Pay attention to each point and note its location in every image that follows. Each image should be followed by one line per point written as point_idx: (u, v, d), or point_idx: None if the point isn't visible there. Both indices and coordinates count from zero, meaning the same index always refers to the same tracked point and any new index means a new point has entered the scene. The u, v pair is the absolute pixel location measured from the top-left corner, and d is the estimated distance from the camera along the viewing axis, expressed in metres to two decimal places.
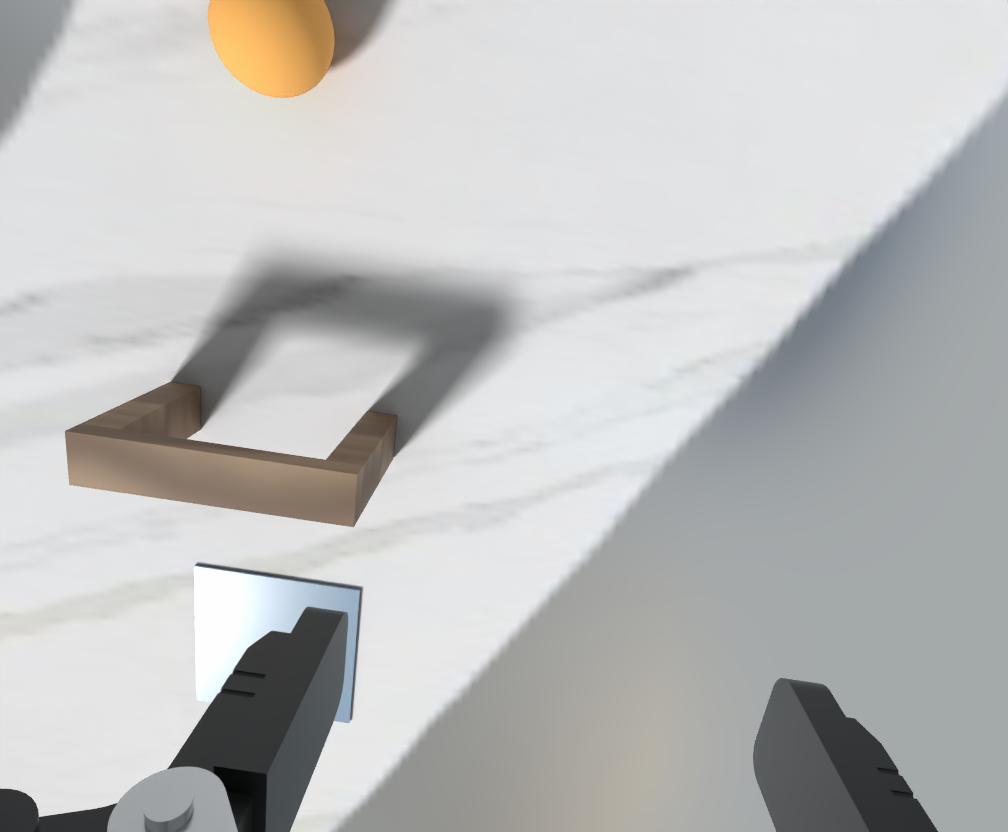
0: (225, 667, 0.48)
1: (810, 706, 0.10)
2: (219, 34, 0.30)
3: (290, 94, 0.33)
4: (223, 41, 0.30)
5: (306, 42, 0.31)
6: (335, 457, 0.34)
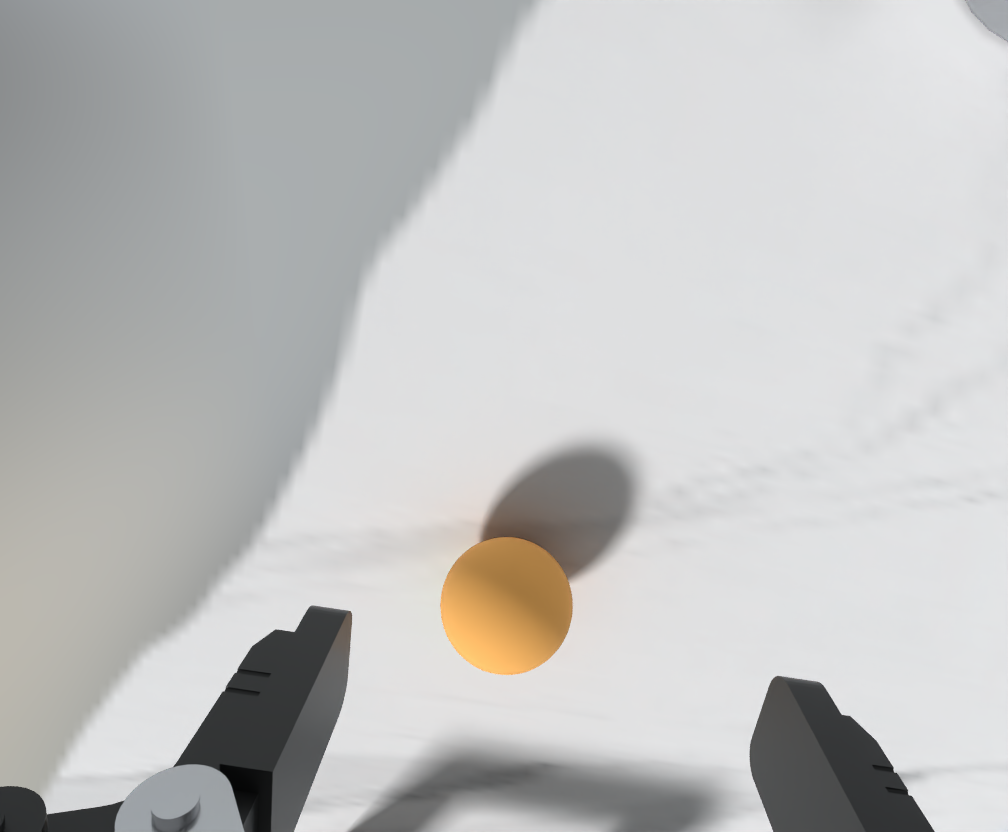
0: None
1: (806, 704, 0.11)
2: (463, 648, 0.27)
3: None
4: (466, 653, 0.27)
5: (556, 647, 0.27)
6: None
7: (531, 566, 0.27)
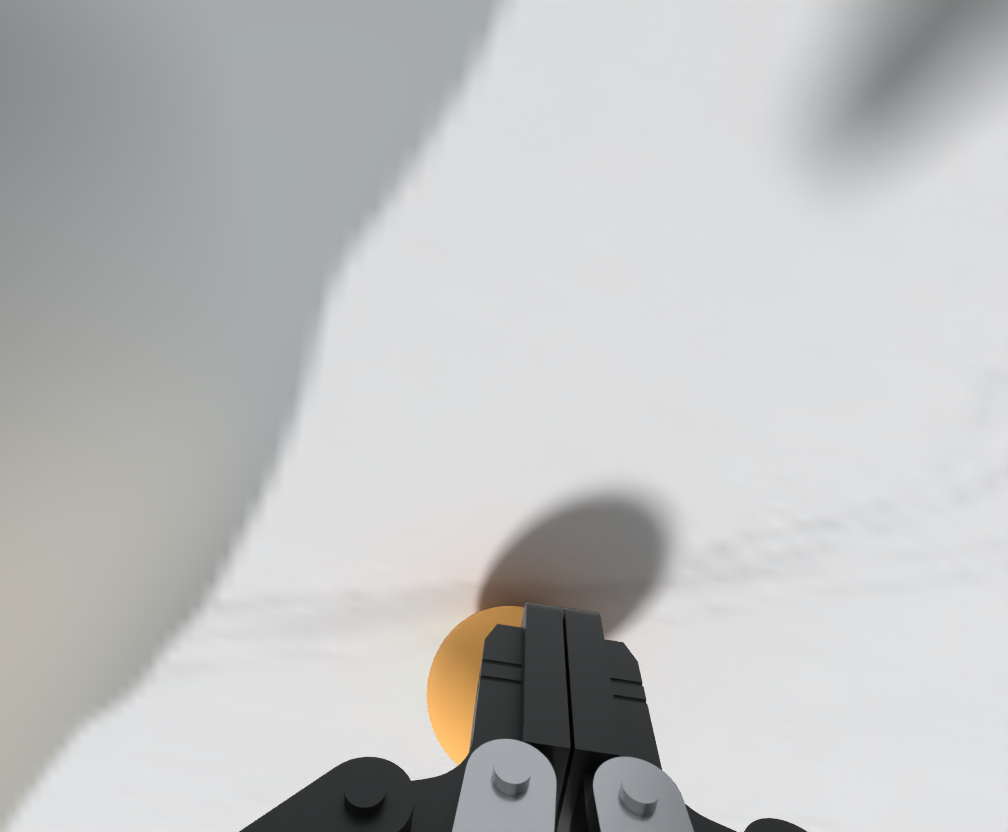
0: None
1: (574, 628, 0.12)
2: (454, 755, 0.21)
3: None
4: (458, 761, 0.21)
5: None
6: None
7: None
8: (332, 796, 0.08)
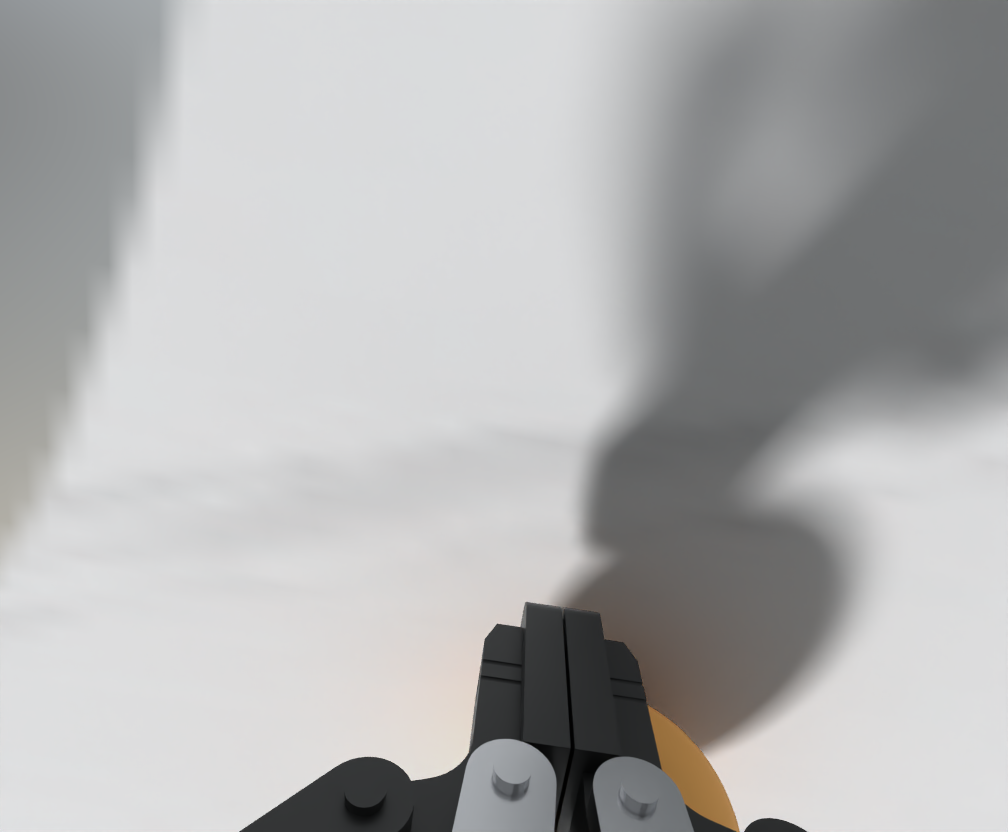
0: None
1: (574, 628, 0.12)
2: None
3: None
4: None
5: None
6: None
7: None
8: (332, 796, 0.08)
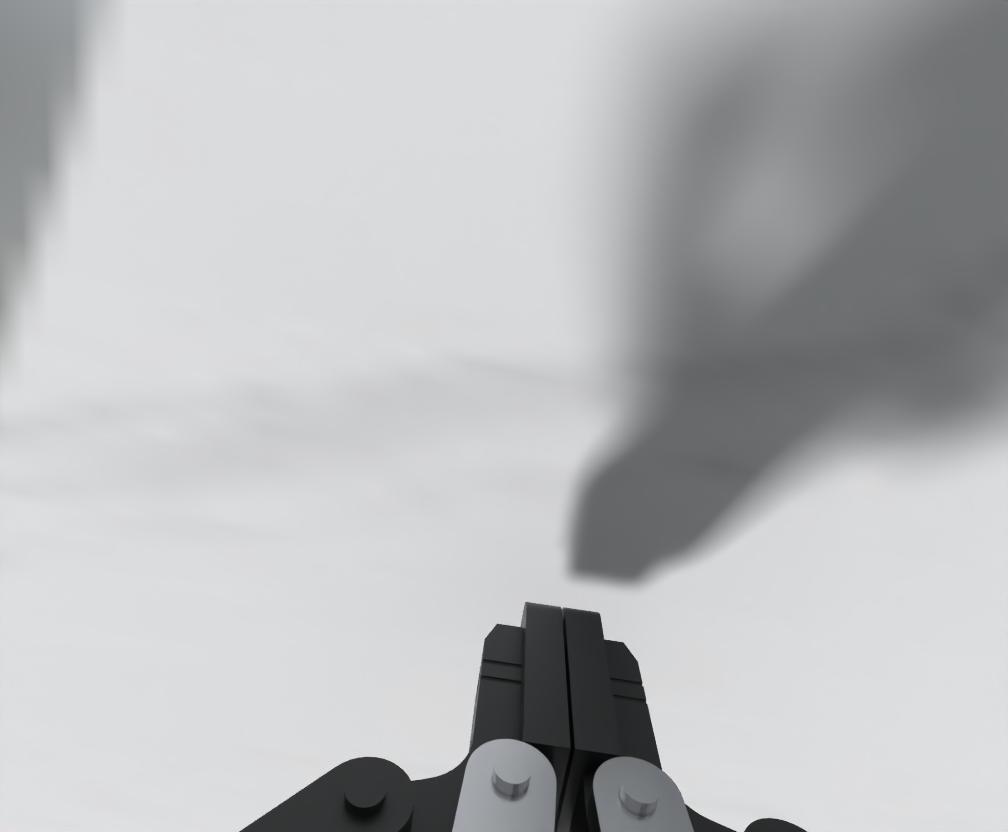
0: None
1: (574, 628, 0.12)
2: None
3: None
4: None
5: None
6: None
7: None
8: (332, 796, 0.08)
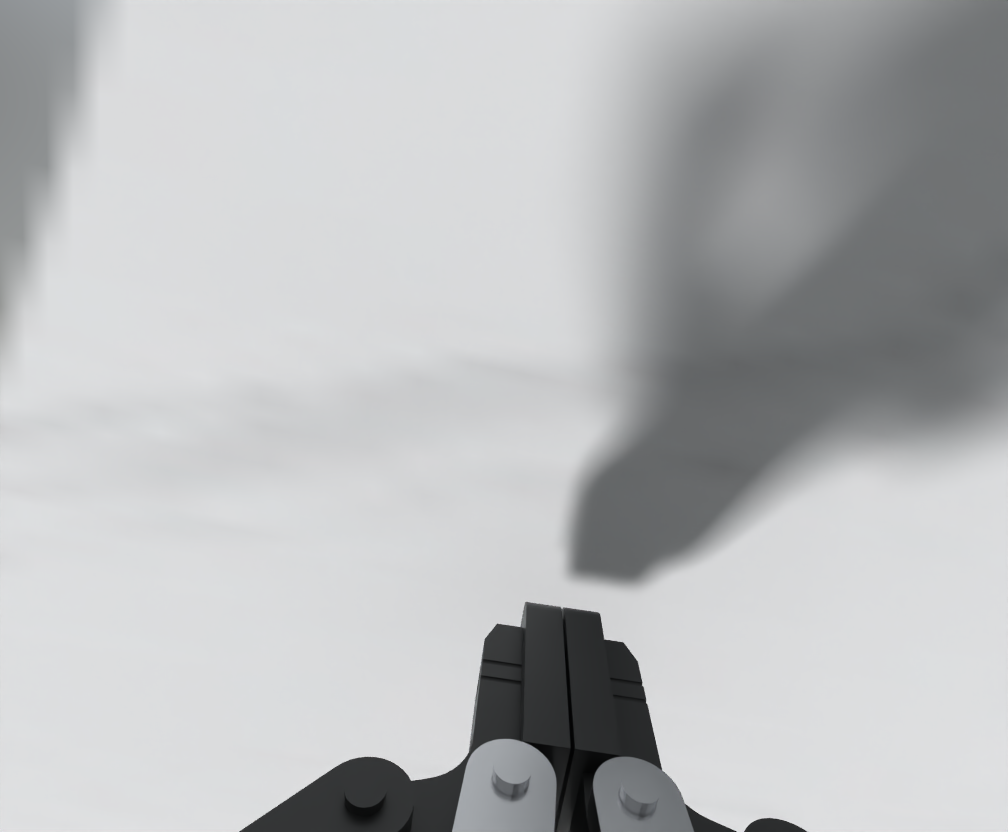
0: None
1: (574, 628, 0.12)
2: None
3: None
4: None
5: None
6: None
7: None
8: (332, 796, 0.08)
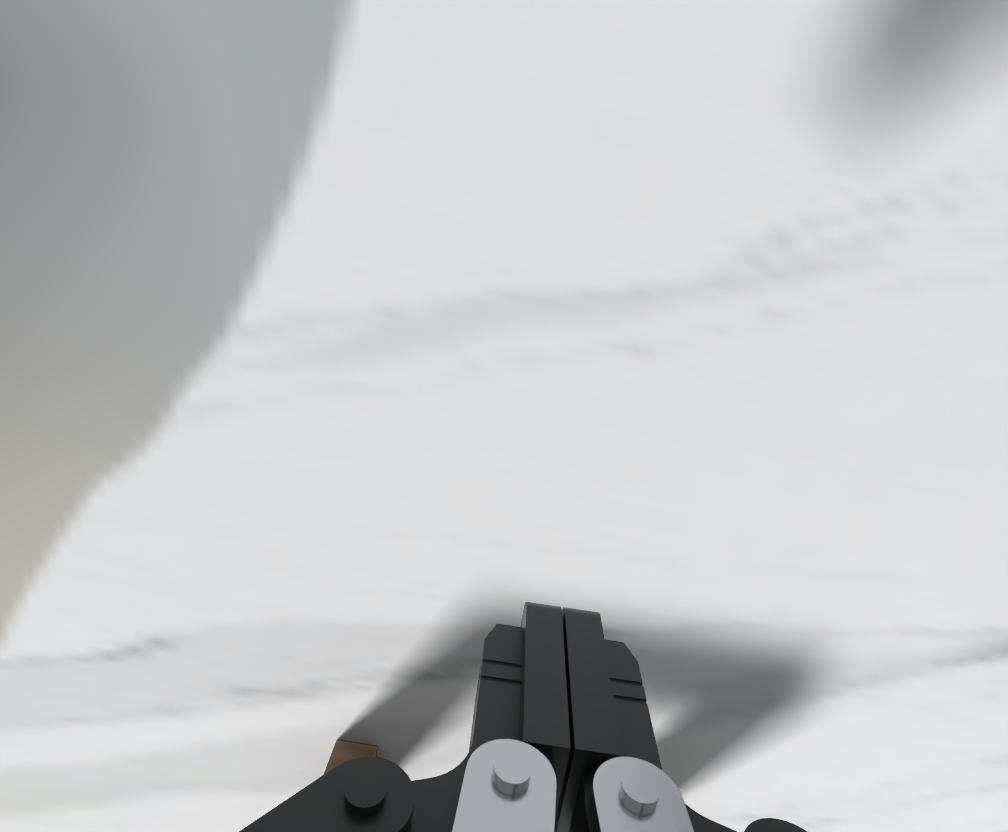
0: None
1: (574, 628, 0.12)
2: None
3: None
4: None
5: None
6: None
7: None
8: (332, 796, 0.08)
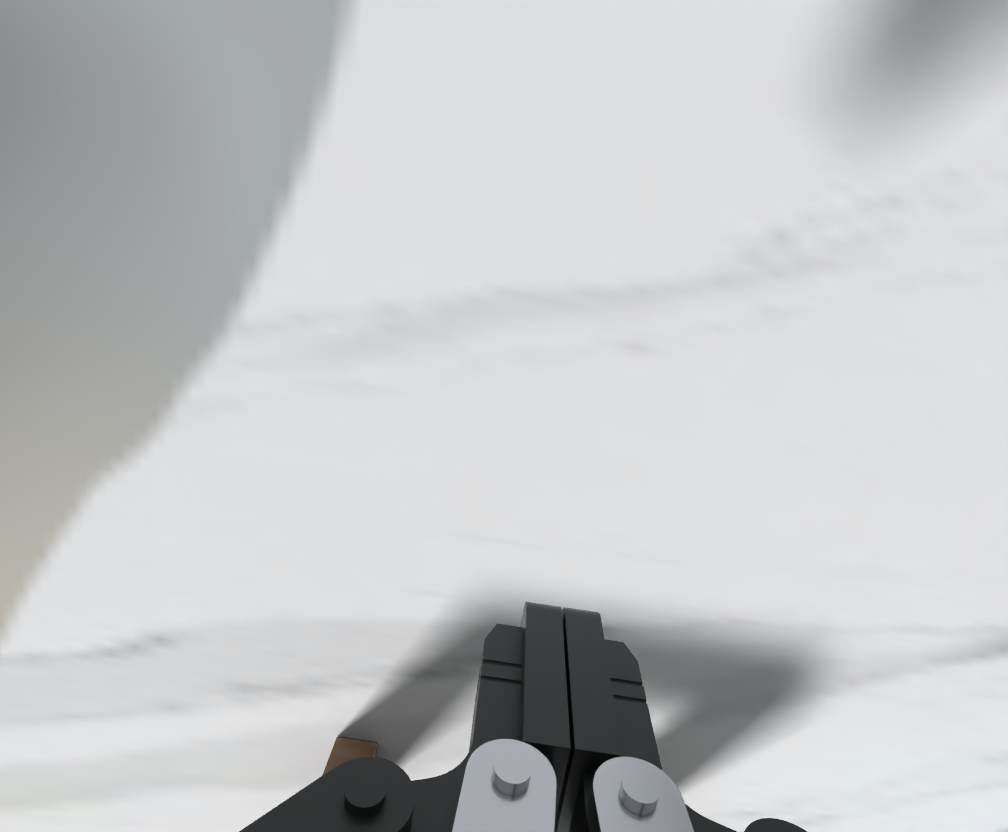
0: None
1: (574, 628, 0.12)
2: None
3: None
4: None
5: None
6: None
7: None
8: (332, 796, 0.08)
